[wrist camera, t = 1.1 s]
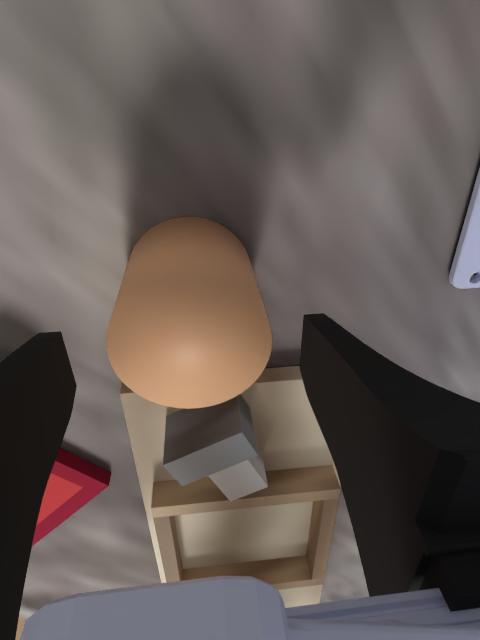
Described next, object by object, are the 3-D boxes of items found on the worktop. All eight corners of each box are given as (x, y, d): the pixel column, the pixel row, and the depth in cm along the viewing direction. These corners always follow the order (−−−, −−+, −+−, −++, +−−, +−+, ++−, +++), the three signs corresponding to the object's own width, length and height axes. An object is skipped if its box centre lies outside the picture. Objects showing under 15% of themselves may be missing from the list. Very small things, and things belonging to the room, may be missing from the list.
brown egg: (251, 213, 16) (274, 268, 11) (251, 324, 18) (270, 402, 14) (117, 219, 15) (90, 278, 11) (137, 331, 18) (120, 414, 14)
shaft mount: (353, 361, 20) (385, 418, 17) (315, 589, 32) (329, 649, 28) (122, 379, 19) (109, 442, 16) (171, 607, 31) (168, 670, 28)
